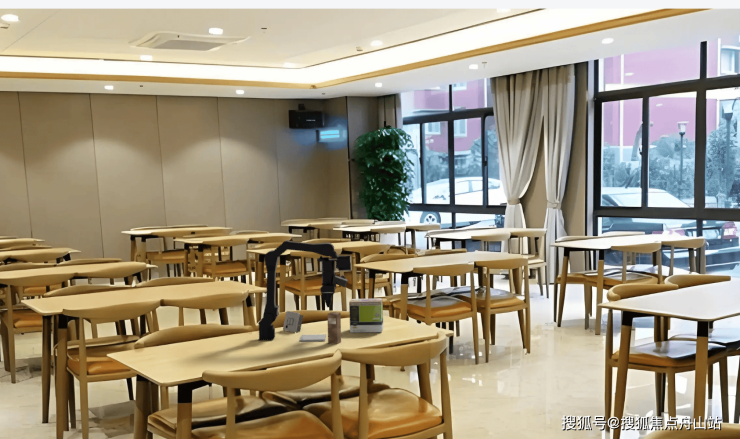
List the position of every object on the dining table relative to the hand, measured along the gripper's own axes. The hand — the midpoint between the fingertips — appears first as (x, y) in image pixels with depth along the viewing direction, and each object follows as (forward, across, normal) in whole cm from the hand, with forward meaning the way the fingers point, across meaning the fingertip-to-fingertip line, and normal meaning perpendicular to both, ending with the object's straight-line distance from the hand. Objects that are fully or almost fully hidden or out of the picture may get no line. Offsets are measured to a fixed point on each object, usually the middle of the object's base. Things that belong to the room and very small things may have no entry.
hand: (329, 305), depth 321 cm
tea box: (+15, +15, -17) cm, 27 cm away
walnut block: (+15, -10, -3) cm, 18 cm away
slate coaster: (+15, -1, +7) cm, 16 cm away
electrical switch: (+15, +18, +18) cm, 30 cm away
